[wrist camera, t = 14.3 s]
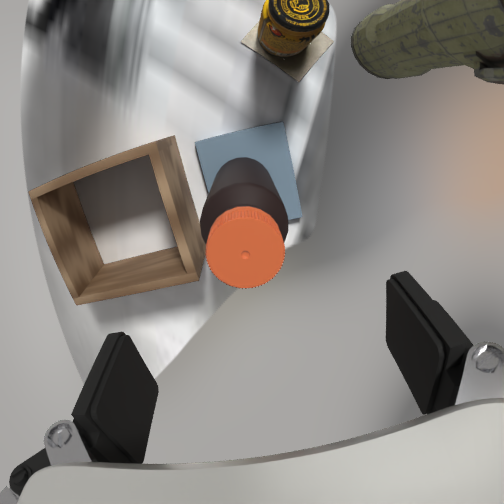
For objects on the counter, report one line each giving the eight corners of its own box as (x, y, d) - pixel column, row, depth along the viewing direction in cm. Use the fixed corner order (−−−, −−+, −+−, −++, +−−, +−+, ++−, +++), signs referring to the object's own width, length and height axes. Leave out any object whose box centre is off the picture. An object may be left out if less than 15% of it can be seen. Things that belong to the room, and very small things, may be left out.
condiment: (277, 1, 29) (291, -39, 19) (333, 41, 32) (369, 16, 21) (240, 42, 32) (240, 12, 21) (298, 82, 34) (322, 69, 23)
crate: (64, 174, 37) (28, 191, 29) (174, 135, 36) (155, 141, 28) (101, 271, 43) (76, 305, 35) (206, 246, 42) (199, 280, 34)
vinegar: (228, 147, 36) (215, 182, 18) (280, 171, 37) (320, 228, 19) (205, 198, 38) (175, 279, 20) (256, 220, 40) (270, 315, 22)
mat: (195, 141, 37) (194, 142, 36) (282, 121, 36) (283, 121, 35) (220, 232, 41) (220, 235, 41) (300, 214, 41) (302, 217, 40)
